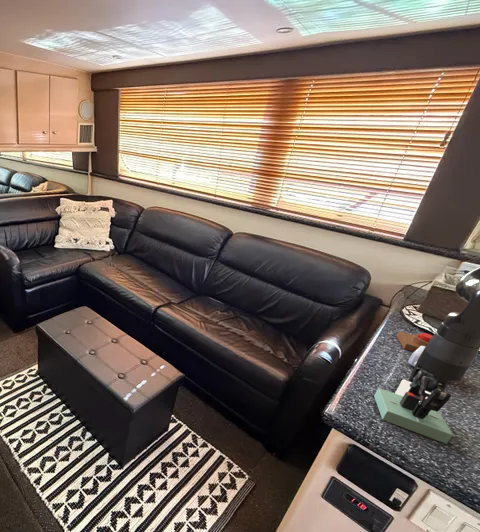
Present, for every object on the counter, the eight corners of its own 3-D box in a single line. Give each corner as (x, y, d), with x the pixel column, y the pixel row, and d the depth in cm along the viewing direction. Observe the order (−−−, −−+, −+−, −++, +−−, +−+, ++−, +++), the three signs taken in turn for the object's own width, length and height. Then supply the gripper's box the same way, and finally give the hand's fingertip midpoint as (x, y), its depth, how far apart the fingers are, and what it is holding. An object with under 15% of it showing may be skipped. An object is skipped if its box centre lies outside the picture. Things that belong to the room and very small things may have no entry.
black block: (424, 411, 81) (432, 399, 79) (427, 416, 80) (435, 403, 78) (399, 402, 83) (406, 391, 82) (401, 406, 82) (408, 394, 80)
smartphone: (436, 393, 92) (428, 416, 83) (434, 395, 92) (427, 418, 84) (402, 378, 97) (392, 398, 89) (401, 380, 98) (391, 400, 89)
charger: (400, 368, 102) (414, 355, 110) (440, 387, 95) (452, 372, 103) (407, 357, 100) (421, 344, 108) (449, 375, 93) (460, 360, 101)
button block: (439, 348, 116) (444, 339, 115) (450, 362, 108) (456, 352, 107) (396, 336, 122) (401, 327, 120) (403, 348, 114) (409, 339, 112)
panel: (431, 416, 84) (437, 407, 83) (446, 444, 76) (453, 434, 75) (373, 395, 89) (378, 387, 88) (382, 419, 81) (387, 410, 80)
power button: (432, 339, 114) (434, 335, 113) (436, 344, 111) (438, 340, 110) (417, 335, 116) (419, 331, 115) (420, 340, 113) (423, 336, 112)
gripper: (485, 379, 67) (444, 436, 74) (456, 346, 79) (423, 398, 85) (437, 364, 71) (402, 420, 77) (416, 335, 82) (387, 385, 89)
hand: (413, 408), depth 81 cm, fingers open, 5 cm apart
